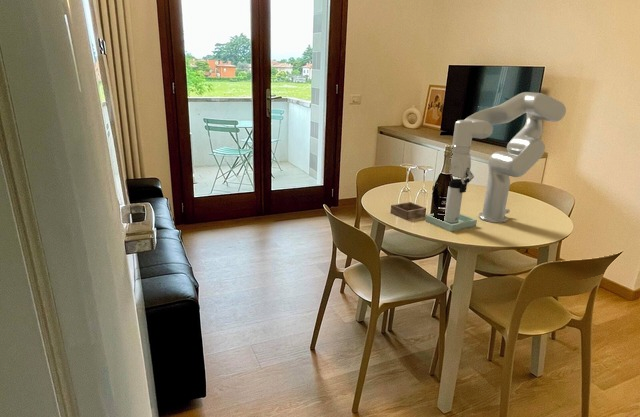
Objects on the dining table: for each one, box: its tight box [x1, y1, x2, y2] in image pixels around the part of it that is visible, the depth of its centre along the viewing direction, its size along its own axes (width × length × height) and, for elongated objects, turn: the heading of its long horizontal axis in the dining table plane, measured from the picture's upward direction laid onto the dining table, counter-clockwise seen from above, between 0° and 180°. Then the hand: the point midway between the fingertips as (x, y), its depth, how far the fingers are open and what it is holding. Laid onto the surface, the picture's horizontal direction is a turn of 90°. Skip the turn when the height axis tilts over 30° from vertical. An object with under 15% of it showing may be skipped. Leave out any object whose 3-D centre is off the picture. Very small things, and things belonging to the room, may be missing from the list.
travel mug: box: [444, 178, 465, 224], centre depth 186 cm, size 6×7×20 cm
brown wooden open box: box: [390, 201, 427, 221], centre depth 198 cm, size 12×11×4 cm
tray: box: [425, 213, 478, 233], centre depth 189 cm, size 16×15×3 cm
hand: (455, 189), depth 184 cm, fingers open, 7 cm apart
